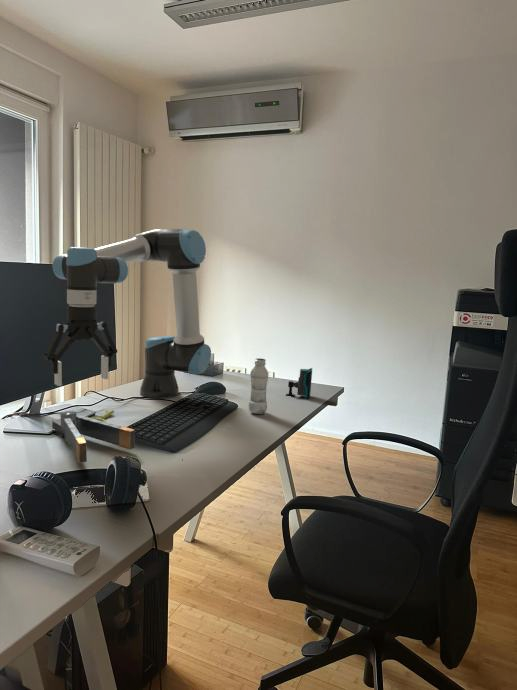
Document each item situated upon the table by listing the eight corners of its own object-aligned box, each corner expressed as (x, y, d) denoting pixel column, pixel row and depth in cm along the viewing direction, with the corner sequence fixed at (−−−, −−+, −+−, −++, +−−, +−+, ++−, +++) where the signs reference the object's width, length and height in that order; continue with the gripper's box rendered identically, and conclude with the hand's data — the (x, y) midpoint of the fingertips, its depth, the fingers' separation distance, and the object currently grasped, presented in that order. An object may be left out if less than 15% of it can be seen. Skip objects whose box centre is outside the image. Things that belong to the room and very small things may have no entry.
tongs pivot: (50, 430, 145) (49, 408, 144) (64, 427, 148) (64, 405, 147) (65, 439, 138) (64, 416, 137) (79, 436, 142) (79, 413, 140)
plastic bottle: (264, 417, 169) (268, 362, 165) (246, 414, 170) (249, 360, 166) (268, 411, 175) (271, 358, 171) (250, 409, 176) (253, 356, 173)
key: (115, 415, 163) (114, 409, 163) (103, 427, 151) (103, 421, 151) (94, 414, 163) (93, 408, 163) (80, 426, 151) (80, 420, 151)
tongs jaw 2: (76, 433, 140) (75, 416, 139) (81, 431, 141) (80, 415, 141) (130, 449, 130) (130, 431, 129) (134, 447, 132) (134, 429, 131)
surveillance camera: (288, 365, 199) (312, 367, 198) (286, 393, 201) (310, 395, 200) (287, 368, 193) (311, 370, 192) (285, 397, 195) (309, 399, 194)
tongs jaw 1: (63, 435, 138) (63, 418, 137) (70, 434, 139) (70, 417, 138) (79, 463, 120) (79, 443, 119) (86, 461, 121) (86, 442, 120)
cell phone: (149, 503, 106) (149, 499, 106) (62, 511, 101) (62, 507, 101) (146, 485, 114) (146, 481, 114) (66, 492, 109) (66, 488, 109)
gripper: (41, 307, 117) (42, 391, 121) (130, 305, 135) (129, 378, 139) (28, 304, 122) (30, 385, 126) (116, 303, 140) (115, 373, 144)
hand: (82, 381), depth 132 cm, fingers open, 13 cm apart
